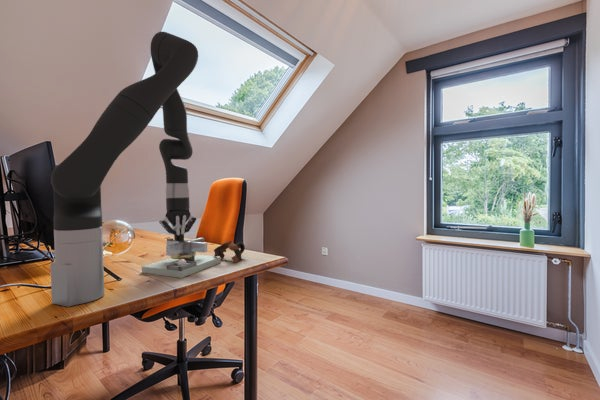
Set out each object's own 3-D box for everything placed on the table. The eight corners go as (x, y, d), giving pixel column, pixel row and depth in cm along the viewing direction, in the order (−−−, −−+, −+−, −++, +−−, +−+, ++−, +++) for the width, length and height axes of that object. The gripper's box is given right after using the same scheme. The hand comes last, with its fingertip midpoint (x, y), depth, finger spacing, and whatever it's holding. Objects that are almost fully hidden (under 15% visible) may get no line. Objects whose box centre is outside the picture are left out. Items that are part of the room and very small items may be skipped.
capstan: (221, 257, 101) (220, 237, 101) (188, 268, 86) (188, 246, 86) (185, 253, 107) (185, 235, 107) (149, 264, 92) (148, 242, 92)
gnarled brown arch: (229, 266, 99) (218, 246, 100) (217, 273, 105) (207, 253, 106) (254, 252, 108) (243, 233, 109) (242, 259, 114) (232, 241, 115)
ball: (182, 268, 87) (182, 260, 87) (175, 268, 88) (175, 259, 88) (188, 266, 90) (188, 258, 90) (181, 265, 91) (181, 257, 91)
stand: (181, 277, 85) (181, 266, 85) (141, 272, 90) (141, 262, 90) (220, 262, 103) (220, 253, 102) (185, 258, 108) (185, 249, 108)
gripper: (190, 195, 108) (191, 240, 108) (153, 196, 98) (155, 246, 98) (200, 195, 103) (201, 243, 104) (163, 197, 93) (165, 249, 94)
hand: (179, 245), depth 101 cm, fingers closed
